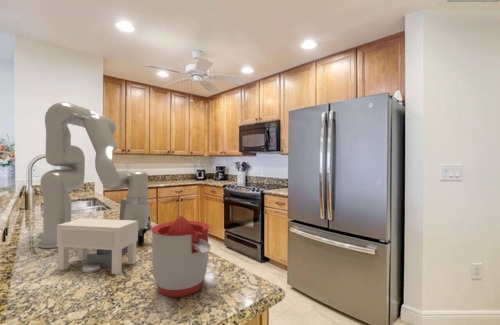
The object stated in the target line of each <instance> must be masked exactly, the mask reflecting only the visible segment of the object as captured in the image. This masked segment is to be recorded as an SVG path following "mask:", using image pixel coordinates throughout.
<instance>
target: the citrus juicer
mask: <svg viewBox="0 0 500 325" xmlns="http://www.w3.org/2000/svg"><path fill="white" fill-rule="evenodd" d="M209 229H210V225H209V224H208V223H206V222H203V221H199V220H198V221H197V220H187V218H186V217H184V216H183V215H181V216H178V217H177V218H176V219H175V221H169V222H163V223H160V224H157V225H154V226H152V229H151V234H152V238H151V239H152V240H151V241H152V244H151V245H152V247H151V250H152V251H151V253H152V254H151V255H152V256H151V262H152V263H151V264H152V272H153V277H154V280H155V285H156V288H157V289H158V292H159V293H160V294H162V296H163V295H164V296H166V297H172V298H173V297H174V298H181V297H184V296H189V295H191V294H194V293H196V292H197V291H199V290H200V289H201V287H202V285H203V283H204V280H205V276H206V273H207V268H208V263H209V262H208V260H209V252H210V250H211V244H210V243H209Z"/></svg>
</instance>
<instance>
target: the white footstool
mask: <svg viewBox="0 0 500 325" xmlns="http://www.w3.org/2000/svg"><path fill="white" fill-rule="evenodd" d="M138 230H139V229H138V221H133V220H119V219H109V218H108V219H106V218H103V219H102V218H85V217H84V218H78V219H74V220H71V221H70V222H66V223H63V224H59V225H57V247H56V248H57V271H65V270H68V269H70V268H69V267H70V266H69V265H70V256H69V255H70V248H73V249H77V261H79V262H81V261H82V262H83V261H87V254H89V253H88V249H90V250H97V249H104V250H112V261H111V275H119V274H120V273H122V270H123V268H122V267H123V265H122V264H123V262H122V260H123V259H122V258H123V255H122V249H123V248H125V247H127V246H128V252H127V265H134V264H136V263H137V247H136V241H138Z"/></svg>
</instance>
